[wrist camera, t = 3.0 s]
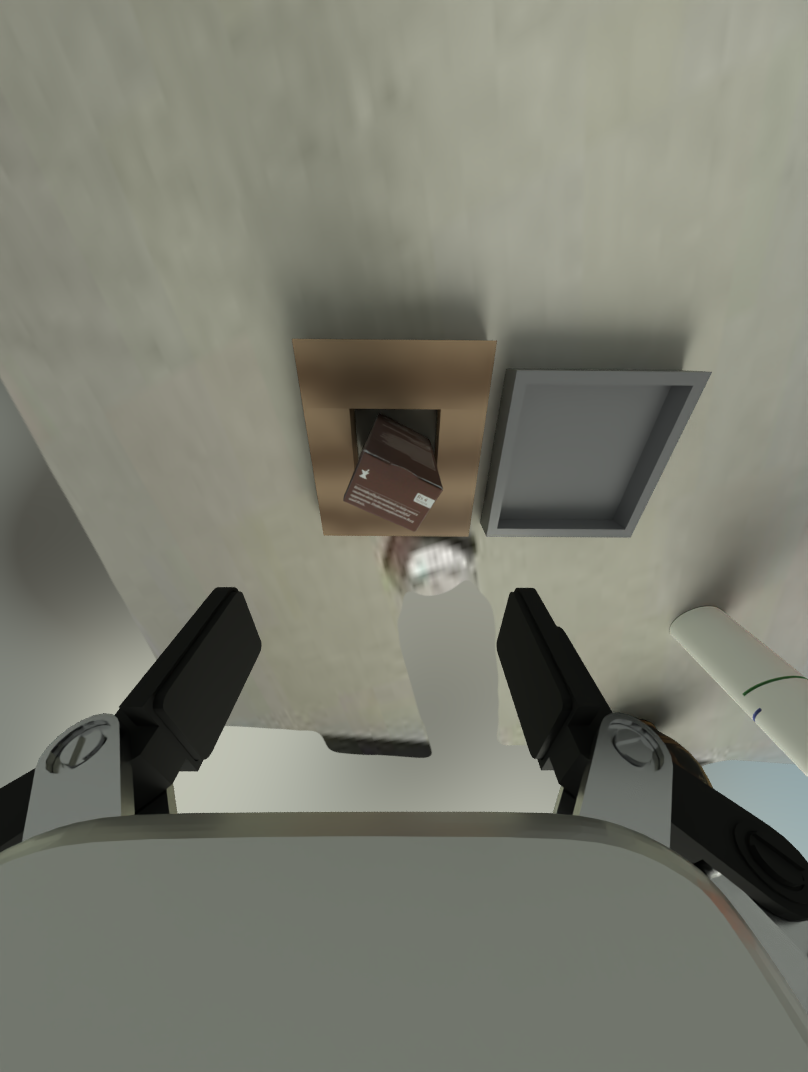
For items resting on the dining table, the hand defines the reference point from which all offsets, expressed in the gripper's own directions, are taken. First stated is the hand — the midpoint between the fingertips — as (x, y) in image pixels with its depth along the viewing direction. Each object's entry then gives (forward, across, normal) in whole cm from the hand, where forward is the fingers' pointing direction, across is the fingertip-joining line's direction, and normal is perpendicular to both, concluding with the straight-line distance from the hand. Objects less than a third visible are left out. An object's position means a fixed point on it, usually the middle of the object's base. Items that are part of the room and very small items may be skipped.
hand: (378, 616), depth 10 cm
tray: (+23, -18, +1) cm, 29 cm away
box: (+23, 0, 0) cm, 23 cm away
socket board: (+23, 0, 0) cm, 23 cm away
